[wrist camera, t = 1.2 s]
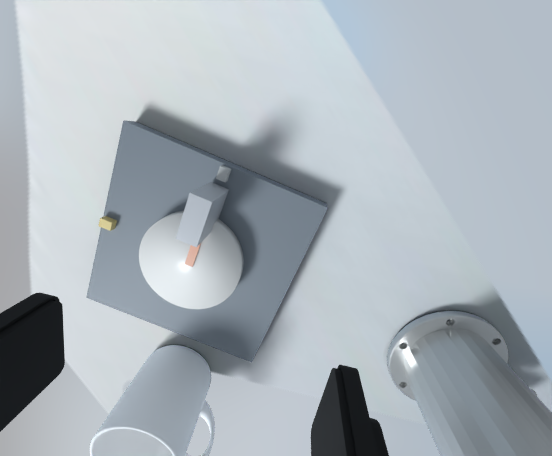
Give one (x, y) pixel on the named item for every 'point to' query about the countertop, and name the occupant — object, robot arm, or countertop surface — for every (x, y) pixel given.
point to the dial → (193, 253)
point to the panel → (235, 214)
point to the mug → (159, 407)
